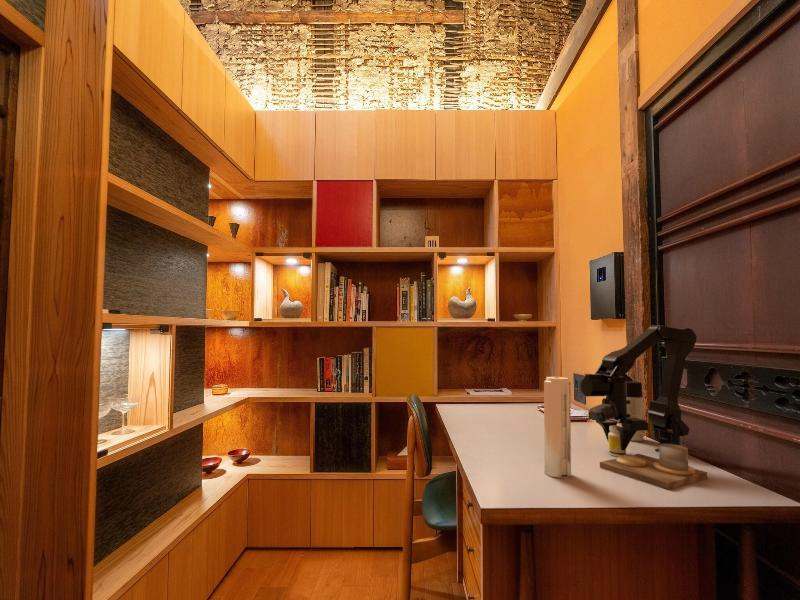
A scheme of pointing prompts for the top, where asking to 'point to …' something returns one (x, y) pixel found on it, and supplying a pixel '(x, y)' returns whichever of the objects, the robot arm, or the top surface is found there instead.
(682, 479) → the board
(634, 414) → the spray can
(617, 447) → the supplement bottle
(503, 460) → the top surface
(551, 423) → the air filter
